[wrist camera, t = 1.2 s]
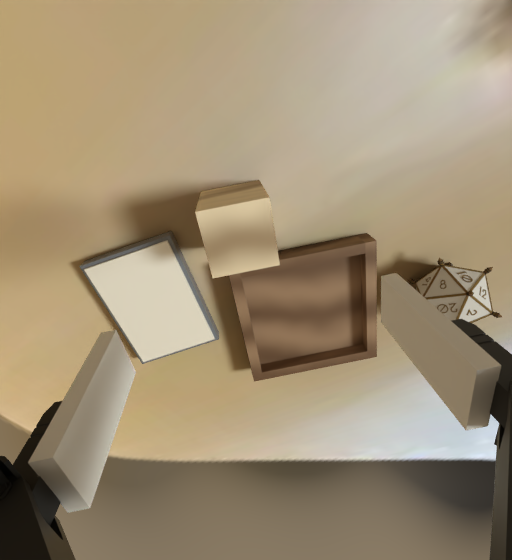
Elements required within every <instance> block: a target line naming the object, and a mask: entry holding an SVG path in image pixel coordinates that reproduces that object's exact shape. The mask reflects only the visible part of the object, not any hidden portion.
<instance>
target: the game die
mask: <svg viewBox="0 0 512 560" xmlns="http://www.w3.org/2000/svg"><path fill="white" fill-rule="evenodd" d="M443 263H444V262H443V260H442V259H440V258H439V260H438V264H439V265H440V266H438V267H437V268H435V269H434V270H433V271H431V272H430V273H428V274H427V275H425V276H424V277H422V278H421V279H419V280H418V281H417V282H416V281H415V280H413V279H411V280H408V281H409V282H410V283H412V284H415V288H416V291H418V292H419V293H420V294H421V295H422V296H423V297H424V298H426V299H427V300H428V301H429V302H430V303H431V304H432V305H433V306H435V307H436V308H437V309H438V310H439V311H440V312H441V313H443V314H444V315H445V316H446V317H447V318H448V319H449V320H450V321H452V320H457V319H463V320H465V321H468V322H470V323H473V322H475V321H478V320H480V319H482V318H485V317H487V316H489V315H493V316H494V317H496V318H498V317H502V316H501V315H500V314H499V313H497V312H493V309H492V304H491V298H490V293H489V288H488V283H487V278H486V274H487V273H489V272H490V271H491V270H492V268H493V267H490V268H487V269H485V271H484V272H482V271H476V270H471V269H465V268H460V267H454V266H452V264H451V263H449V264H448V265H443Z"/></svg>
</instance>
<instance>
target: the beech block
mask: <svg viewBox="0 0 512 560" xmlns="http://www.w3.org/2000/svg"><path fill="white" fill-rule="evenodd" d="M195 214H196V217H197V221H198V225H199V229H200V232H201V236H202V240H203V244H204V247H205V251H206V255H207V259H208V263H209V266H210V270H211V274H212V278H218V277H223V276H228V275H233V274H238V273H243V272H248V271H253V270H258V269H263V268H268V267H273V266H278V265H280V262H279V256H278V249H277V243H276V236H275V230H274V223H273V217H272V210H271V204H270V197H269V196H268V194H267V192H266V191H265V189H264V187H263V186H262V184H261V182H260V181H259V180H257V181H252V182H247V183H242V184H237V185H232V186H226V187H221V188H216V189H211V190H206V191H201V193H200V196H199V200H198V203H197V207H196V211H195Z"/></svg>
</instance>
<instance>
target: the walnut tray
mask: <svg viewBox="0 0 512 560" xmlns="http://www.w3.org/2000/svg"><path fill="white" fill-rule="evenodd" d="M278 256H279V262H280V265H278V266H273V267H268V268H263V269H258V270H253V271H248V272H243V273H238V274H233V275H229V278H230V282H231V286H232V290H233V294H234V299H235V303H236V307H237V311H238V315H239V320H240V324H241V328H242V332H243V336H244V341H245V345H246V349H247V353H248V357H249V362H250V366H251V370H252V374H253V378H254V381H259V380H264V379H269V378H274V377H279V376H284V375H288V374H293V373H298V372H303V371H308V370H313V369H318V368H323V367H328V366H333V365H338V364H343V363H348V362H353V361H358V360H363V359H368V358H373V357H377V253H376V240H375V239H374V238H372V237H371V236H370V235H369V234H367V233H366V234H361V235H356V236H351V237H346V238H341V239H336V240H331V241H326V242H321V243H316V244H311V245H306V246H301V247H296V248H291V249H286V250H281V251H278Z"/></svg>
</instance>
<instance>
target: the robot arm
mask: <svg viewBox="0 0 512 560" xmlns="http://www.w3.org/2000/svg"><path fill="white" fill-rule="evenodd" d="M381 323H382V324H383V325H384V327H385V328H386V329H387V330H388V332H389V333H390V334H391V335H392V337H393V338H394V339H395V341H396V342H397V343H398V344H399V346H400V347H401V348H402V349H403V351H404V352H405V353H406V355H407V356H408V357H409V358H410V360H411V361H412V362H413V363H414V365H415V366H416V367H417V369H418V370H419V371H420V372H421V374H422V375H423V376H424V378H425V379H426V380H427V381H428V383H429V384H430V385H431V386H432V388H433V389H434V390H435V392H436V393H437V394H438V395H439V397H440V398H441V399H442V400H443V402H444V403H445V404H446V406H447V407H448V408H449V409H450V411H451V412H452V413H453V414H454V416H455V417H456V418H457V420H458V421H459V422H460V423H461V425H462V426H463V427H464V428H465V430H471V429H476V428H480V427H485V426H488V423H489V419H490V414H491V415H492V416H493V417H494V418H495V419H496V420H497V421H498V422H499V427H498V431H497V435H496V439H495V443H494V444H495V445H497V452H496V469H495V484H494V501H493V517H492V532H491V548H490V560H512V354H510V353H509V352H508V351H507V350H505V349H504V348H503V347H502V346H500V345H499V344H498V343H497V342H494V340H493V339H492V338H491V337H489V336H488V335H486V334H485V333H484V332H483V331H482V330H481V329H480V328H478V327H477V326H476V325H474V324H472V323H470V322H468V321H465V320H463V319H457V320H452V321H450V320H449V319H448V318H447V317H446V316H445V315H444V314H443V313H441V312H440V311H439V310H438V309H437V308H436V307H435V306H433V305H432V304H431V303H430V302H429V301H428V300H427V299H426V298H424V297H423V296H422V295H421V294H420V293H419V292H418V291H416V290H415V289H414V288H413V287H412V286H411V285H410V284H409V283H407V282H406V281H405V280H404V279H403V278H402V277H401V276H399V275H398V274H397V273H393V274H388V275H384V276H381ZM135 373H136V371H135V369H134V367H133V365H132V363H131V361H130V358H129V356H128V354H127V352H126V350H125V348H124V345H123V343H122V341H121V339H120V337H119V335H118V332H117V330H113V331H108V332H103V333H100V335H99V337H98V339H97V341H96V342H95V344H94V346H93V348H92V349H91V351H90V353H89V355H88V357H87V358H86V360H85V362H84V364H83V365H82V367H81V369H80V371H79V373H78V374H77V376H76V378H75V380H74V382H73V383H72V385H71V387H70V389H69V390H68V392H67V394H66V396H65V398H64V399H63V401H60V402H55V403H54V404H53V405H52V406H51V407H50V408H49V409H48V410H47V411H46V412H45V413H44V414H43V416H42V417H41V419H40V421H39V422H38V424H37V427H36V428H35V429H34V431H33V432H32V434H31V438H29V439H28V441H27V442H26V444H25V446H24V447H23V449H22V451H21V452H20V454H19V455H18V457H17V459H16V460H15V462H14V464H13V465H12V464H11V462H10V461H9V460H8V459H7V458H6V457H5V456H0V560H75V558H74V555H73V552H72V550H71V548H70V545H69V543H68V540H67V538H66V536H65V533H64V531H63V528H62V526H61V524H60V521H59V520H58V518H57V517H56V516H55V514H56V512H57V509H58V507H59V505H60V503H61V505H62V506H63V507H64V508H65V510H66V511H67V512H68V513H69V512H73V511H78V510H83V509H88V508H90V507H91V504H92V501H93V498H94V494H95V492H96V489H97V486H98V483H99V480H100V477H101V474H102V471H103V468H104V465H105V462H106V459H107V456H108V453H109V450H110V447H111V444H112V441H113V438H114V435H115V432H116V429H117V427H118V424H119V421H120V418H121V415H122V412H123V409H124V406H125V403H126V400H127V397H128V394H129V391H130V388H131V385H132V382H133V379H134V376H135Z"/></svg>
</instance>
